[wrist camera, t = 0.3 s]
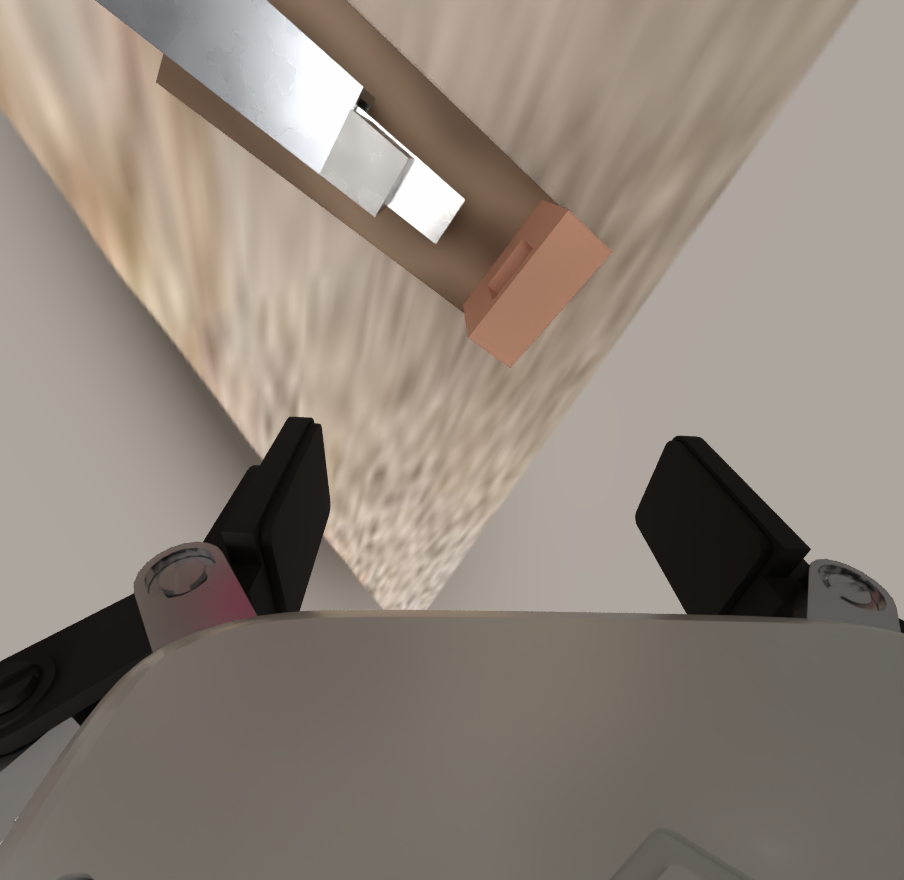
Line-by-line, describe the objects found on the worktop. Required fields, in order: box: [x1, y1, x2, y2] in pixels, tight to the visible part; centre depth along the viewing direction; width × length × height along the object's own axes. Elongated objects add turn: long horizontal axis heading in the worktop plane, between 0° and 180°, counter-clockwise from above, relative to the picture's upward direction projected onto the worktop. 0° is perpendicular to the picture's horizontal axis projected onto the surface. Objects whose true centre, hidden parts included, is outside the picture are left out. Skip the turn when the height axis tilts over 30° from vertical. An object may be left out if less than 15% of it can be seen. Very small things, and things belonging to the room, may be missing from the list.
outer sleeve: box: [96, 0, 375, 175], centre depth 24 cm, size 5×12×8 cm, turn 53°
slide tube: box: [320, 104, 465, 244], centre depth 22 cm, size 3×19×10 cm, turn 53°
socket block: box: [463, 200, 612, 368], centre depth 31 cm, size 10×4×8 cm, turn 143°
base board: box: [156, 0, 559, 312], centre depth 31 cm, size 11×30×2 cm, turn 53°
